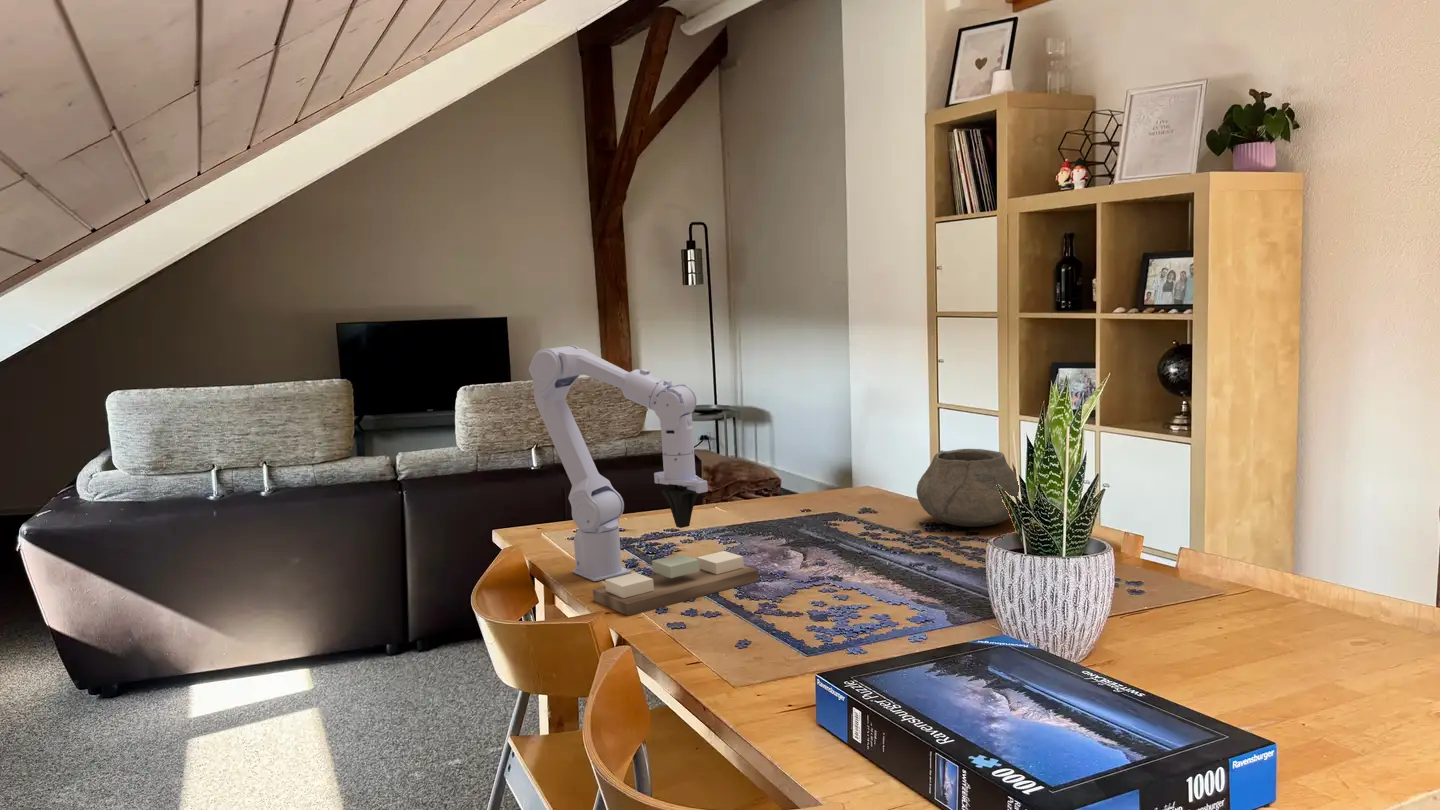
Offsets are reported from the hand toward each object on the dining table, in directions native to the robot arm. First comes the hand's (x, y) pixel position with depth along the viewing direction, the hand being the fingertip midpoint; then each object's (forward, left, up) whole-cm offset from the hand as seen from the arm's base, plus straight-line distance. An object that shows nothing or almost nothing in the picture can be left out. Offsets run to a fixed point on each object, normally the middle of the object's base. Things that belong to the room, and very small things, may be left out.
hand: (682, 526), depth 190 cm
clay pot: (+11, +64, -10) cm, 66 cm away
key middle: (+5, -5, -6) cm, 9 cm away
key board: (+5, -5, -10) cm, 12 cm away
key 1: (+5, -15, -8) cm, 17 cm away
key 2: (+5, +4, -8) cm, 10 cm away
